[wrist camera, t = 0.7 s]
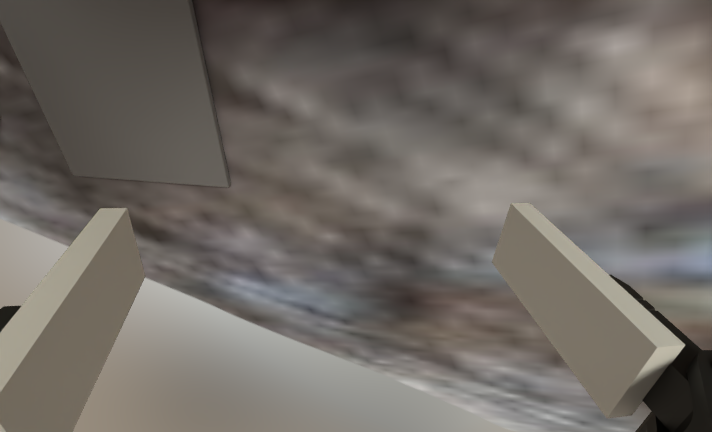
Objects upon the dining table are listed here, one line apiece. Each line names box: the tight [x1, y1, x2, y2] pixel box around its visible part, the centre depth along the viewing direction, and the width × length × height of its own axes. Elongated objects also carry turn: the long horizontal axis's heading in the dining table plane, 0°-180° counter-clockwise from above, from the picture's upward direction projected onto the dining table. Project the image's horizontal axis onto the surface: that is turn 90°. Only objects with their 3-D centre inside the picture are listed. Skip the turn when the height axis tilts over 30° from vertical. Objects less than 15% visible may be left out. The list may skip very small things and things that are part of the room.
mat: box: [0, 0, 231, 187], centre depth 24 cm, size 14×12×1 cm
